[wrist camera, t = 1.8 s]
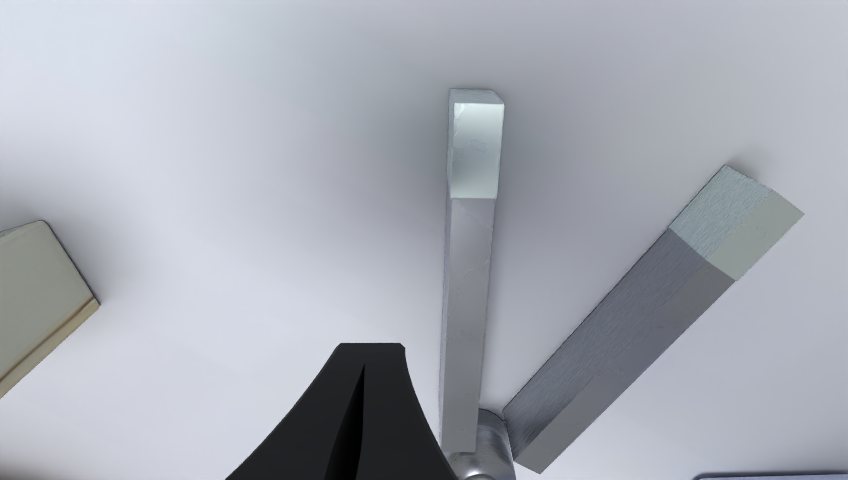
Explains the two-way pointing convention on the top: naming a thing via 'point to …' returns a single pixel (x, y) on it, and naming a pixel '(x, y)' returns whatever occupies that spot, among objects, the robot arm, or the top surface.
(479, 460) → the bar
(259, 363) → the top surface
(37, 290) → the skincare box
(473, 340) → the tongs moving leg
